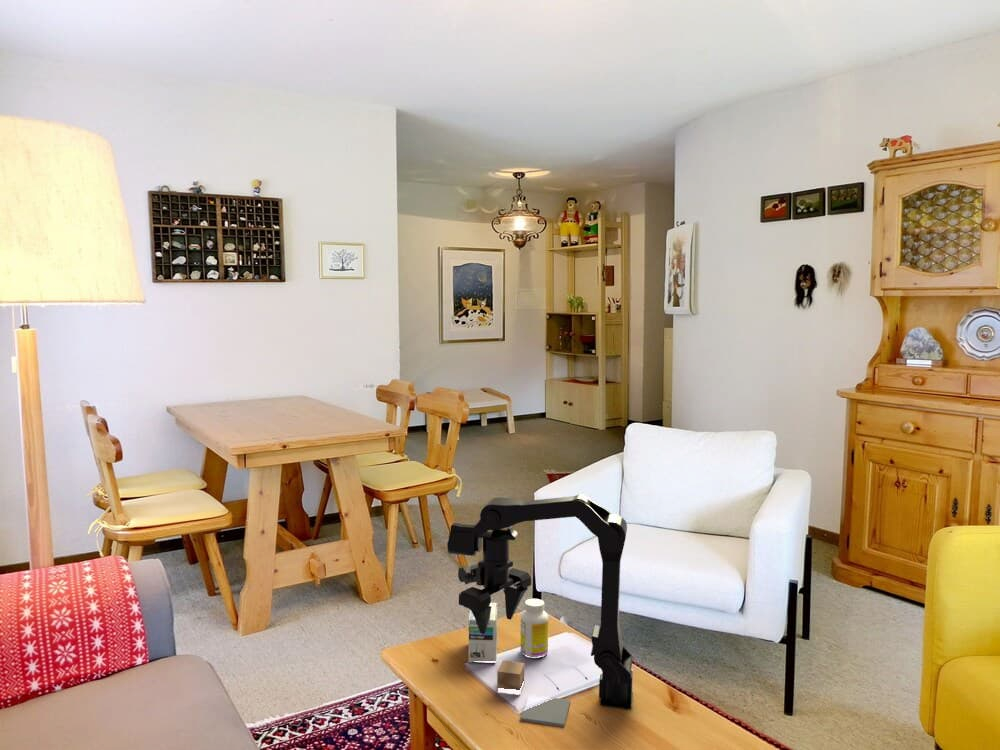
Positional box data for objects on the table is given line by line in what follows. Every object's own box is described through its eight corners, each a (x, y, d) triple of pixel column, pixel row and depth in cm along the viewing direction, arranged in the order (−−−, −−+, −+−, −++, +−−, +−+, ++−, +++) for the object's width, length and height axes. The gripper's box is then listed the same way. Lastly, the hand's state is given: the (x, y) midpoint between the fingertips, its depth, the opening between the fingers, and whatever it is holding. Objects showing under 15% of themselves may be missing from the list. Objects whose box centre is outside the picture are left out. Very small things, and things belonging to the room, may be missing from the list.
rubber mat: (570, 702, 152) (570, 700, 152) (564, 726, 143) (564, 724, 143) (528, 697, 154) (528, 694, 154) (520, 720, 145) (520, 717, 145)
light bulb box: (496, 664, 168) (496, 620, 167) (467, 664, 168) (467, 619, 167) (497, 643, 178) (497, 601, 177) (470, 642, 179) (470, 601, 177)
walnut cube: (524, 684, 159) (524, 663, 159) (519, 696, 154) (519, 674, 154) (502, 681, 160) (502, 660, 160) (497, 693, 155) (497, 671, 155)
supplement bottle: (552, 651, 174) (553, 600, 173) (539, 662, 169) (540, 610, 168) (528, 644, 178) (529, 594, 177) (515, 655, 172) (515, 603, 171)
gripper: (494, 539, 168) (494, 603, 170) (439, 560, 154) (440, 630, 155) (532, 548, 161) (532, 615, 163) (478, 572, 147) (479, 645, 148)
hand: (496, 626), depth 158 cm, fingers open, 9 cm apart
